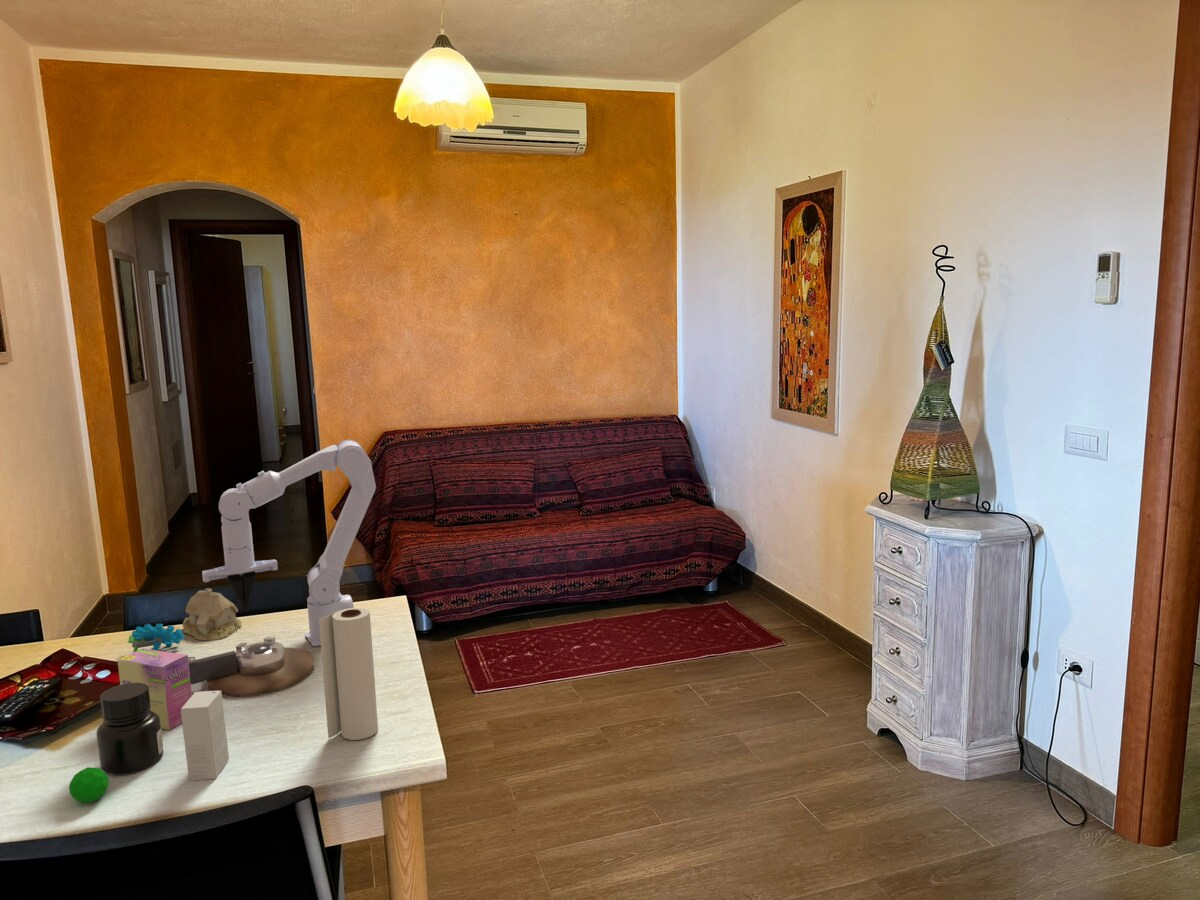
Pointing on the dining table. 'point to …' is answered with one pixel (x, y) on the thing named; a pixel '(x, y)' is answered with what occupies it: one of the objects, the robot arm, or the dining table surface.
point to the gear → (154, 636)
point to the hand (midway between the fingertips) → (244, 607)
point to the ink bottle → (128, 730)
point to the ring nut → (239, 661)
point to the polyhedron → (88, 785)
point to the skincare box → (204, 735)
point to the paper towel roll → (349, 673)
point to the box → (160, 681)
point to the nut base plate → (267, 676)
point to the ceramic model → (210, 616)
